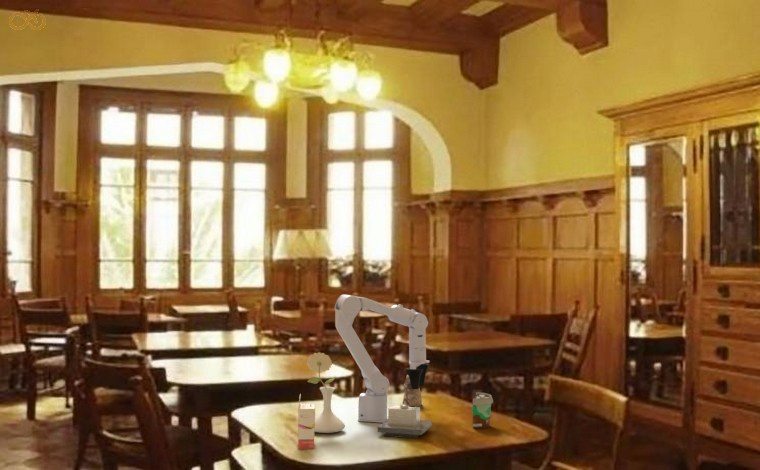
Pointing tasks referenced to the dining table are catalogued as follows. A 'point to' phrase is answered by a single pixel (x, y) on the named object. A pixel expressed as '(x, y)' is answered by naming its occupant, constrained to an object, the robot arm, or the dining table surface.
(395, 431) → the stand
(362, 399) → the robot arm
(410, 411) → the block
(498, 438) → the dining table surface
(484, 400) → the food container
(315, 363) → the flower in vase
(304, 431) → the juice box
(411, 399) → the figurine
